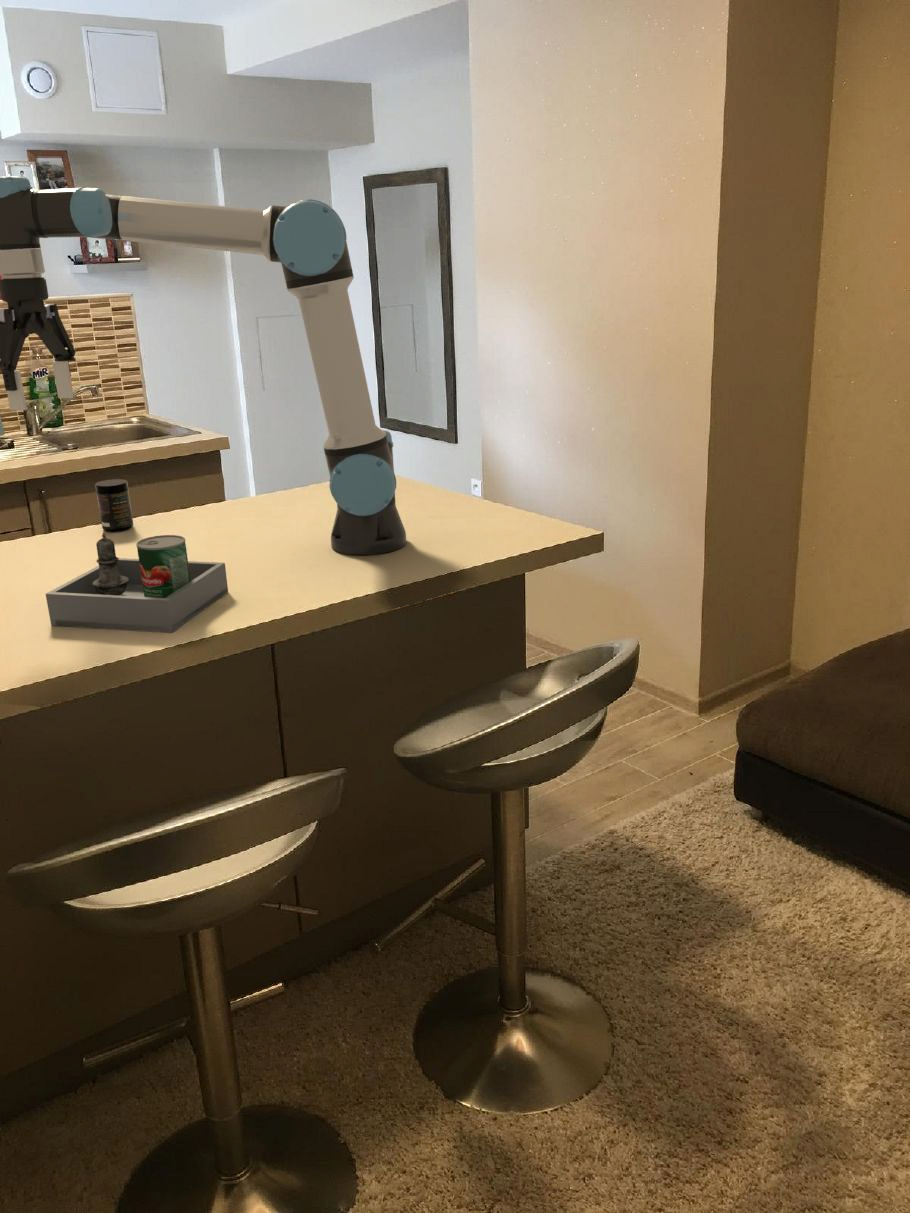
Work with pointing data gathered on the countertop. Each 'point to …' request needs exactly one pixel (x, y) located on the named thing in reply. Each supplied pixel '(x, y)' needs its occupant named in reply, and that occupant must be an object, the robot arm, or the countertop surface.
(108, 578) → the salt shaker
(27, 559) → the countertop surface
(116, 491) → the supplement container
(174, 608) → the tote
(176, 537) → the canned tomato
